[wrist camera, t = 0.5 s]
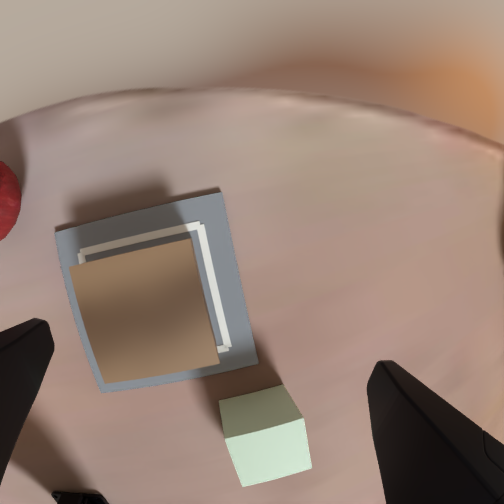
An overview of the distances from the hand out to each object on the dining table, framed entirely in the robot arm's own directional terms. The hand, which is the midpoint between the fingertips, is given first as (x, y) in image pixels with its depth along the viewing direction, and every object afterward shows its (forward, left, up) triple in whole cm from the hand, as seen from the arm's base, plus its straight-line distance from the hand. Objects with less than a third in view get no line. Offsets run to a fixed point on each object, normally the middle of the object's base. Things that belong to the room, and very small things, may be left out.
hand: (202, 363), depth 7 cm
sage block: (-12, -2, -13) cm, 18 cm away
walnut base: (-1, +3, -13) cm, 13 cm away
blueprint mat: (-1, +3, -13) cm, 14 cm away
